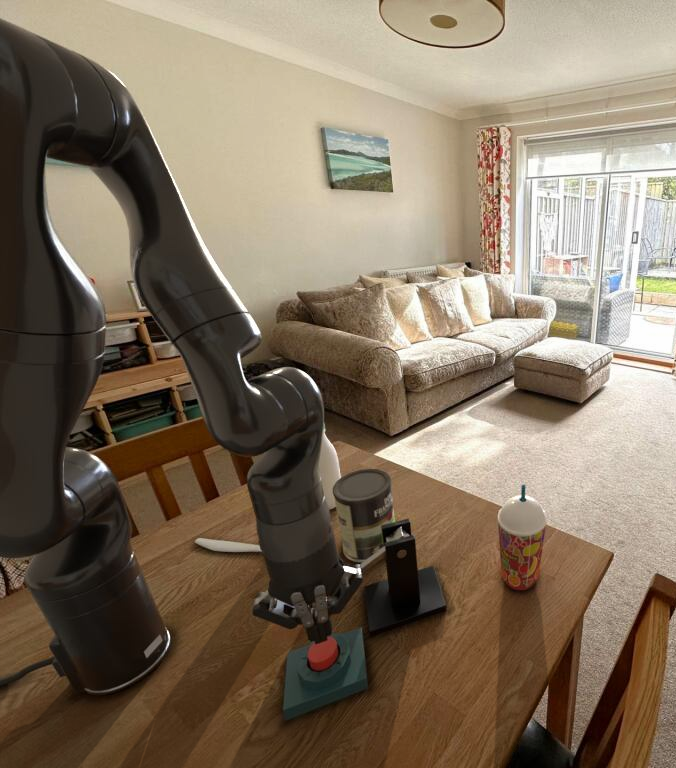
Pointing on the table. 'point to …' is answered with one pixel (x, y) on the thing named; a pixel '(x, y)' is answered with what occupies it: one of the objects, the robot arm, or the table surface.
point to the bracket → (402, 586)
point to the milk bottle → (328, 469)
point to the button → (323, 654)
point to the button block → (324, 676)
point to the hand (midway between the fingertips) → (321, 636)
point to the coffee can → (363, 511)
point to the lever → (378, 553)
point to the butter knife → (227, 546)
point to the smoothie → (521, 540)
